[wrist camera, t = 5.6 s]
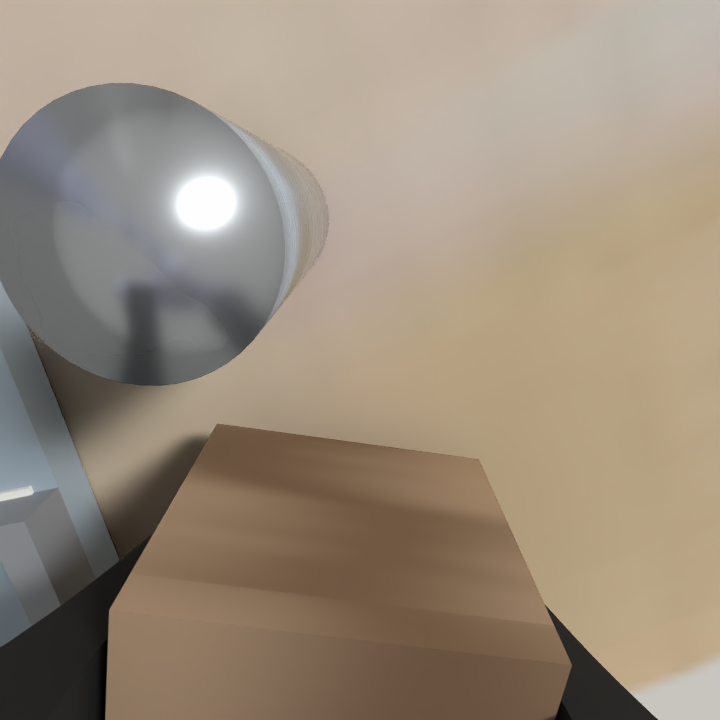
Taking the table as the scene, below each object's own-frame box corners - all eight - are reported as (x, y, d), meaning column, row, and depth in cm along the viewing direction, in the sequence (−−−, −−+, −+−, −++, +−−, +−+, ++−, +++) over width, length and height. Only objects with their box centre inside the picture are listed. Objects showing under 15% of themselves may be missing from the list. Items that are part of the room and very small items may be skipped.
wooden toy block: (197, 640, 12) (97, 930, 8) (217, 423, 11) (108, 610, 6) (430, 668, 13) (477, 965, 8) (478, 459, 11) (572, 664, 6)
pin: (172, 161, 11) (-58, 118, 5) (312, 132, 10) (244, 51, 5) (210, 300, 11) (46, 407, 6) (341, 275, 11) (313, 358, 5)
